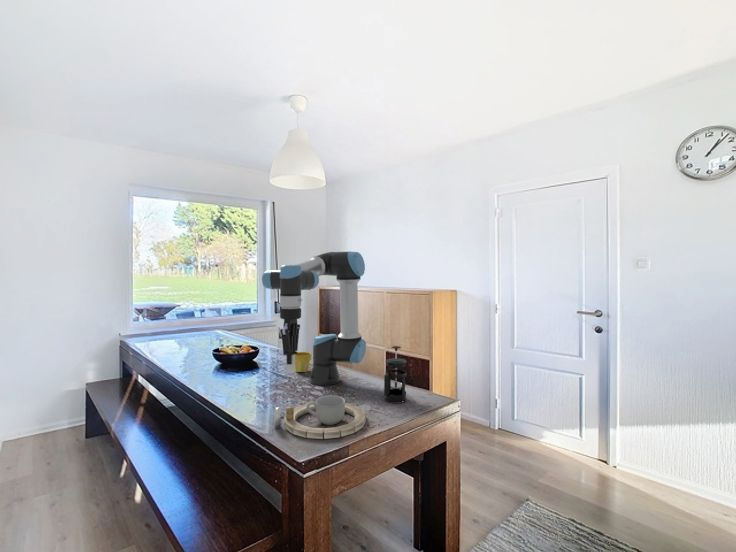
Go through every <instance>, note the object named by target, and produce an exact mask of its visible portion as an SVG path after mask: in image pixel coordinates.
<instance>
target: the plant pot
mask: <svg viewBox="0 0 736 552" xmlns="http://www.w3.org/2000/svg"><path fill="white" fill-rule="evenodd" d="M297 352H298V351H297ZM311 360H312V353H311V352H309V351H299V352H298V353H297V354H295V372H296V373H298V372H305V373H307V372H309V366H310V362H311Z"/></svg>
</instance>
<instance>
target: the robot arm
mask: <svg viewBox="0 0 736 552" xmlns="http://www.w3.org/2000/svg"><path fill="white" fill-rule="evenodd" d="M365 270H366V265H365V260H364V257H363V255H362V254H361V253H360V252H358V251H351V250H350V251H329V252H324V253H321V254H318V255H314V256H312V257H310V258H309V259H308V260H306V261H302V262H298V263H296V264H293V265H292V264H283V265H281V266H280V269H274V270H273V269H271V270H270V269H269V270H268V269H267V270H266V271H264V272H263V274H262V276H261V282H262V286H263V287H264V288H265V289H268V290H280V291H279V292H280V294H279V307H280V309H279V318H280V319H282V320H283V328H280V330H279V332H280V336H281V343H282V352H283V356H286V357H285V359H286V361H285V364H286V365H285V366H286V367H285V369H286V371H285V373H287V374H295V372H296V371H295V354H297V353H298V347H299V336H300V329H301V324H298V320H300V319H301V318H302V308H301V306H302V301H303V299H302V291H307V290H308V291H310V290H313V289H315V288H317V287H318V286H319V283H320V276H331V277H332V276H335V277H336V279H335V280H336V281H337V282H338V283H339V304H340V305H339V306H340V307H339V308H340V309H339V313H340V315H339V316H340V317H339V318H340V319H339V321H340V333H339V334H335V333H329V334H328V333H327V334H321V335H317V336H315V337H314V338H313V343H312V356H313V357H312V369H311V372H310V375H309V383H310V384H312V385H316V386H332V385H337V384H339V383H340V380H341V375H340V373H339V370H338V365H337V363H346V364H347V363H348V364H360V363H362V361H363V359H364V358H365V355H366V352H367V351H366V350H367V342H366V340H365V339H363V338H362V334H361V333H360V332H359V303H358V302H359V301H358V299H359V295H358V294H359V293H358V289H359V288H358V283H359V282H360V281H361V277H362V276H364V274H365Z"/></svg>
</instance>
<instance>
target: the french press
mask: <svg viewBox="0 0 736 552" xmlns="http://www.w3.org/2000/svg"><path fill="white" fill-rule="evenodd" d="M391 349H394V351H395V358H394V357H393V358H387V359H385V362H386V367H388V368H392V369H388V370H386V371H385V374H384V379H383V382H384V384H383V386H384V387H383V391H384V392H383V394H384V395H383V396H385V397H384V400H385V401H386V400H387V401H389V402H388V403H390V402H402V401H406V400H407V391H406V386H407V385H406V377H407V370H403V369H402V368H405V367H406V363H407V362H408V361H407V360H406V359H404V358H397V353H398V349H402V347H401V346H398V345H393V346H391ZM392 373H400V374H392ZM393 378H394V379H400V382H399V381H392V379H393ZM387 401H386V402H387ZM406 402H407V401H406Z"/></svg>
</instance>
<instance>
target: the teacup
mask: <svg viewBox="0 0 736 552" xmlns="http://www.w3.org/2000/svg"><path fill="white" fill-rule="evenodd" d="M345 403H346V400H345V398H344V397H341V396H338V395H331V394H330V395H322V396H320V397H318V398H317V399H316V400H315V401H314V400H311V401H309V402H307V403H306V404H307V410H308V412H309V413H310V414H311V415H313V416H314V417H315V418H316V419H317V420H318V421H319V422H320V423H321V424H323V425H326V426H332V425H336V424H338V423H339V422H341V421H342V420H343V419H344V418H345V417H344V416H345V412H344V411H345ZM311 404H313V405H314V406H315V408H316V411H312V410H311V409H310V408H309V406H310V405H311Z"/></svg>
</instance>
